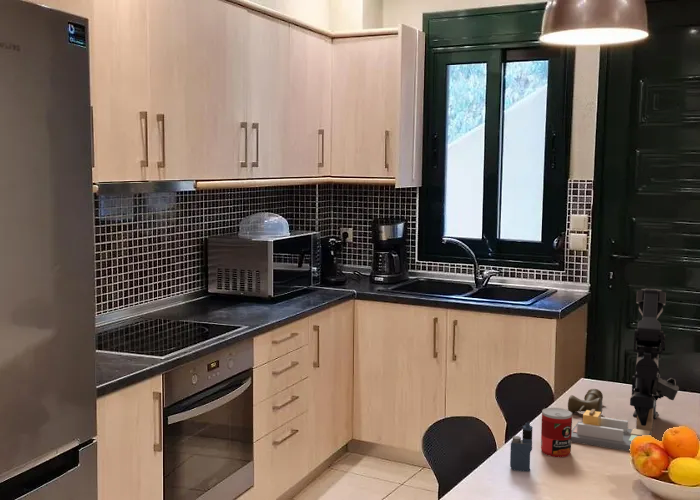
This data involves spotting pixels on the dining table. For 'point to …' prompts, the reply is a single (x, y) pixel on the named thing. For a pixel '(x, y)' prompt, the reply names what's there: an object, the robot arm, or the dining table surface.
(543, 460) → the dining table surface
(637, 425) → the walnut block
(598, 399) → the kendama
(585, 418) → the knob
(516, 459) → the vaping device
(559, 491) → the dining table surface
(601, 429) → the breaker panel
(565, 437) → the canned food
